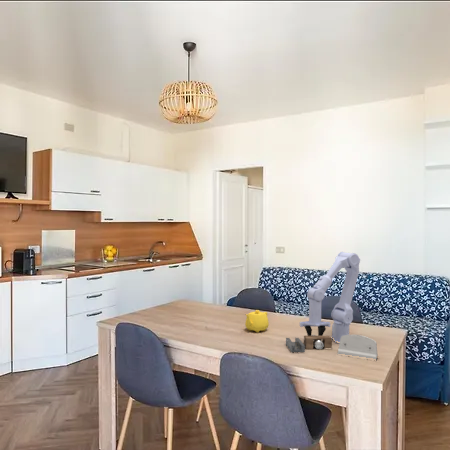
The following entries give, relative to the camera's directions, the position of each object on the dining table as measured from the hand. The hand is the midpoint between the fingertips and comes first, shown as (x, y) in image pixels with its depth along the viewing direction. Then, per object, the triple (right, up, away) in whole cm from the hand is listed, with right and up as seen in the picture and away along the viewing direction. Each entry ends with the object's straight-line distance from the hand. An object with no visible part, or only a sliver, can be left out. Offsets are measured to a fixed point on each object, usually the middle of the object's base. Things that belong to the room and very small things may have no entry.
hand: (314, 341), depth 184 cm
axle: (0, -2, -3) cm, 3 cm away
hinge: (+16, -2, -15) cm, 21 cm away
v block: (-11, -1, -7) cm, 13 cm away
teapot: (-26, -1, +22) cm, 35 cm away
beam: (0, -1, -5) cm, 5 cm away
